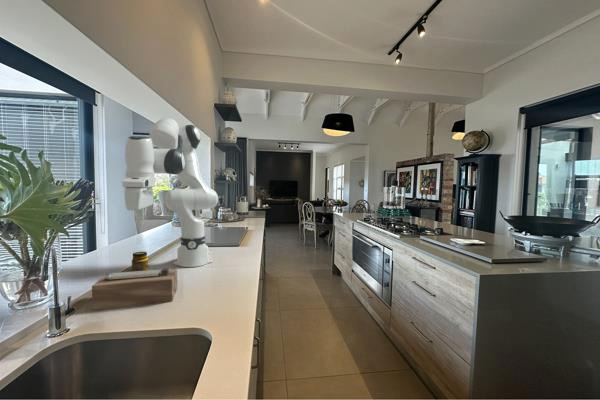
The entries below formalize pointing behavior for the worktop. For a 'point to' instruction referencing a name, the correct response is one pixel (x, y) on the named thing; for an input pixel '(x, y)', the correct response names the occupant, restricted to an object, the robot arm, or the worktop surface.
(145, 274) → the latch bar
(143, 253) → the condiment
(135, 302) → the walnut case
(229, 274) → the worktop surface
